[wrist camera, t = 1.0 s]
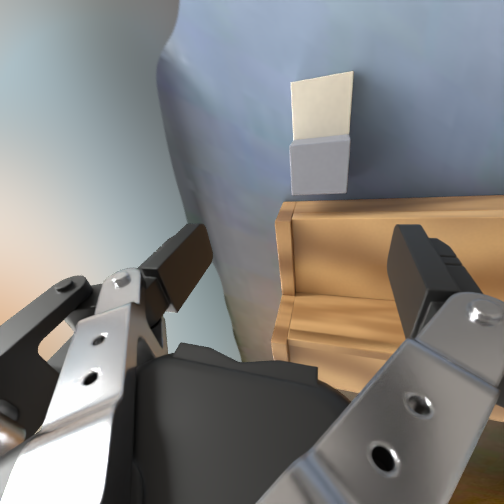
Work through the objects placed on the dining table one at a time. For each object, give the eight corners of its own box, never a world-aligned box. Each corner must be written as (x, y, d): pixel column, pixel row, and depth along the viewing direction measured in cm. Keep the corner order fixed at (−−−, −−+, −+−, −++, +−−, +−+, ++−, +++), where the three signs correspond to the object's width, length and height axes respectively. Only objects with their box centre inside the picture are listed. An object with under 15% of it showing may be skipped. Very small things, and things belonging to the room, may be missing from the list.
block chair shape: (292, 82, 19) (285, 82, 16) (352, 71, 17) (356, 69, 15) (297, 181, 23) (291, 195, 20) (345, 179, 22) (346, 193, 19)
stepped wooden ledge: (283, 201, 25) (257, 261, 16) (596, 192, 17) (833, 291, 9) (291, 308, 33) (277, 382, 25) (502, 330, 26) (580, 446, 18)
